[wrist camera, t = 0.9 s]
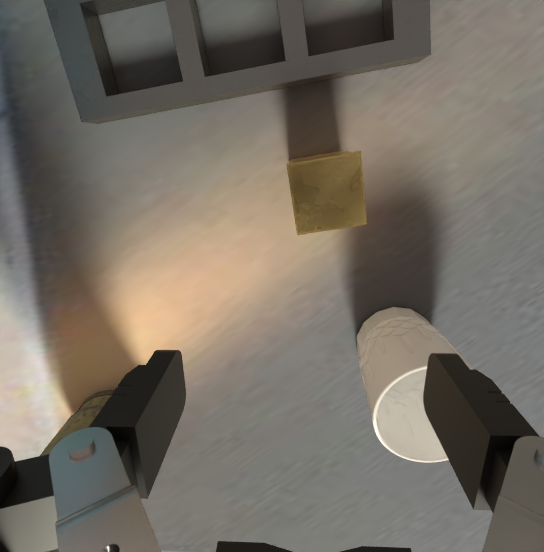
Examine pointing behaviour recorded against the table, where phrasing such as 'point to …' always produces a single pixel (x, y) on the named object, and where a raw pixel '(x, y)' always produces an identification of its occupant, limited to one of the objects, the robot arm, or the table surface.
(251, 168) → the table surface
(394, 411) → the white cup
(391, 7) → the grey compartment tray
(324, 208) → the golden rectangular block
